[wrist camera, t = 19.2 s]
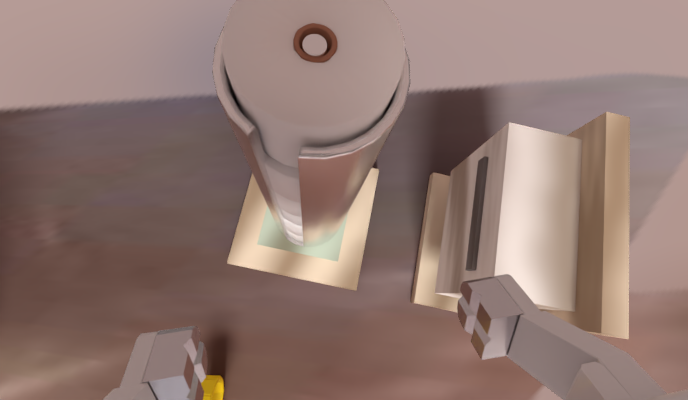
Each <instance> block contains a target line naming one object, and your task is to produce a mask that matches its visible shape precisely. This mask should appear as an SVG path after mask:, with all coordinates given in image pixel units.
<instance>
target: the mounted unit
mask: <svg viewBox="0 0 688 400" xmlns="http://www.w3.org/2000/svg"><path fill="white" fill-rule="evenodd" d="M629 151H630V117H626V116H622V115H618V114H613V113H609V112H605V113H604V114H602V115H600V116H599V117H597V118H595V119H594V120H592V121H590V122H589V123H587V124H585V125H584V126H582V127H580V128H579V129H577V130H575V131H574V132H572V133H570V134H569V135H567V136H565V135H561V134H556V133H552V132H548V131H544V130H539V129H535V128H531V127H527V126H523V125H518V124H514V123H510V122H509V123H508V124H507V125H505V126H504V127H503V128H502V129H501V130H499V131H498V132H497V133H496V134H495V135H494V136H492V137H491V138H490V139H489V140H488V141H486V142H485V143H484V144H483V145H482V146H480V147H479V148H478V149H477V150H476V151H474V152H473V153H472V154H471V155H470V156H468V157H467V158H466V159H465V160H464V161H462V162H461V163H460V164H459V165H458V166H456V167H455V168H454V169H453V170H452V171H451V176H447V175H443V174H439V173H434V172H433V173H432V174H431V175H430V178H429V185H428V191H427V198H426V204H425V211H424V218H423V224H422V231H421V237H420V244H419V251H418V257H417V264H416V270H415V277H414V284H413V290H412V297H411V303H416V304H421V305H425V306H430V307H435V308H439V309H444V310H449V311H454V312H458V311H457V305H458V300H459V299H460V298H461V297H462V296H463V295H462V293H461V292H460V287H461V284H462V283H463V281H469V280H474V279H480V278H486V277H493V276H498V275H504V274H509V275H511V276H512V277H513V278H514V280H515V281H516V282H517V283H518V284H519V286H520V287H521V288H522V289H523V291H524V292H525V293H526V294H527V295H528V297H529V298H530V299H531V300H532V301H533V303H534V304H535V305H536V306H537V307H538V309H539V310H540V311H547V312H549V313H551V314H553V315H554V316H556V317H558V318H560V319H562V320H564V321H566V322H568V323H570V324H572V325H574V326H576V327H578V328H580V329H582V330H584V331H586V332H588V333H590V334H597V335H603V336H610V337H617V338H624V339H628V337H629Z"/></svg>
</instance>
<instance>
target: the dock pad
mask: <svg viewBox="0 0 688 400" xmlns="http://www.w3.org/2000/svg"><path fill="white" fill-rule="evenodd" d="M378 173H379V169H375V168H371V170H370V172H369V174H368V176H367V178H366V180H365V181H364V183H363V185H362V187H361V189H360V191H359V193H358V195H357V197H356V198H355V200H354V202H353V204H352V206H351V208H350V210H349V212H348V213H347V215H346V217H345V219H344V221H343V223H342V225H341V227H340V228H339V230H338V232H337V233H336V235H335V236H334V237H333V238H332V239H330V240H329V241H328V242H326V243H324V244H322V245H319V246H315V247H302V246H299V245H295V244H293V243H292V242H290V241H288V240H287V239H286V238H285V237H284V236H283V235H282V234H281V233H280V231H279V229H278V227H277V225H276V223H275V221H274V219H273V217H272V215H271V212H270V210H269V208H268V206H267V204H266V201H265V199H264V197H263V195H262V193H261V191H260V188H259V186H258V184H257V182H256V180H255V177H254V175H253V173H252V176H251V180H250V183H249V187H248V190H247V194H246V197H245V201H244V204H243V208H242V212H241V215H240V219H239V222H238V226H237V229H236V233H235V236H234V240H233V243H232V247H231V251H230V254H229V258H228V261H227V263H228V264H232V265H237V266H241V267H246V268H251V269H255V270H260V271H265V272H270V273H274V274H279V275H284V276H289V277H293V278H298V279H303V280H307V281H312V282H317V283H322V284H326V285H331V286H336V287H340V288H345V289H350V290H355V291H356V289H357V284H358V279H359V273H360V268H361V263H362V257H363V252H364V247H365V242H366V236H367V231H368V226H369V221H370V215H371V210H372V205H373V199H374V194H375V189H376V184H377V178H378Z"/></svg>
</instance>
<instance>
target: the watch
mask: <svg viewBox="0 0 688 400" xmlns="http://www.w3.org/2000/svg"><path fill="white" fill-rule="evenodd" d="M201 385H202V388H203V390H204V396H203V400H223V394H224V381H223V379H222V377H221V376H220V375H206V378H205V379H204V380H203V382H202V383H201Z"/></svg>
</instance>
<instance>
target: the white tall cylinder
mask: <svg viewBox="0 0 688 400" xmlns="http://www.w3.org/2000/svg"><path fill="white" fill-rule="evenodd" d="M212 73H213V78H214V83H215V88H216V93H217V97H218V99H219V101H220V103H221V105H222V108H223V110H224V112H225V114H226V116H227V119H228V121H229V123H230V125H231V127H232V129H233V132H234V134H235V136H236V138H237V140H238V143H239V145H240V147H241V149H242V151H243V153H244V156H245V158H246V160H247V162H248V164H249V167H250V169H251V171H252V173H253V175H254V177H255V180H256V182H257V184H258V186H259V188H260V191H261V193H262V195H263V197H264V199H265V201H266V204H267V206H268V208H269V210H270V212H271V215H272V217H273V219H274V221H275V223H276V225H277V227H278V229H279V231H280V233H281V234H282V235H283V236H284V237H285V238H286V239H287V240H288V241H290V242H292V243H293V244H295V245H299V246H302V247H315V246H319V245H322V244H324V243H326V242H328V241H329V240H330V239H332V238H333V237H334V236H335V235H336V233H337V232H338V230H339V228H340V227H341V225H342V223H343V221H344V219H345V217H346V215H347V213H348V212H349V210H350V208H351V206H352V204H353V202H354V200H355V198H356V197H357V195H358V193H359V191H360V189H361V187H362V185H363V183H364V181H365V180H366V178H367V176H368V174H369V172H370V170H371V168H372V166H373V164H374V163H375V161H376V159H377V157H378V155H379V153H380V151H381V149H382V148H383V146H384V144H385V142H386V140H387V138H388V136H389V134H390V132H391V131H392V129H393V127H394V125H395V123H396V121H397V119H398V117H399V115H400V114H401V112H402V110H403V108H404V106H405V102H406V98H407V95H408V91H409V87H410V65H409V58H408V55H407V52H406V49H405V45H404V36H403V34H402V31H401V28H400V25H399V22H398V19H397V18H396V16H395V15H394V13H393V12H392V10H391V9H390V7H389V6H388V5H387V3H386V2H385V1H384V0H237V1H236V2H235V3H234V4H233V6H232V7H231V9H230V11H229V14H228V17H227V20H226V22H225V25H224V27H223V30H222V32H221V34H220V36H219V39H218V41H217V44H216V46H215V51H214V60H213V71H212Z"/></svg>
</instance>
